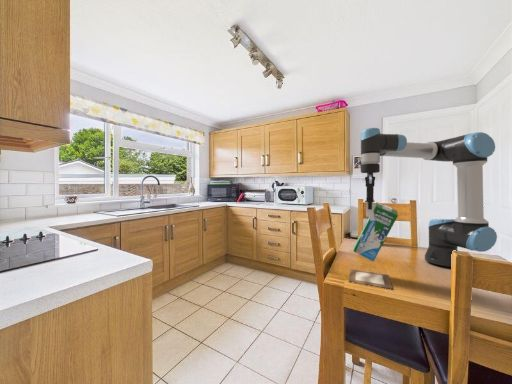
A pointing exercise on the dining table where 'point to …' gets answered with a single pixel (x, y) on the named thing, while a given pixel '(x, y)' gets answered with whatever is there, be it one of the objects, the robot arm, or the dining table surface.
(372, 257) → the milk carton
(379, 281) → the rest board
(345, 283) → the dining table surface
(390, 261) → the dining table surface
